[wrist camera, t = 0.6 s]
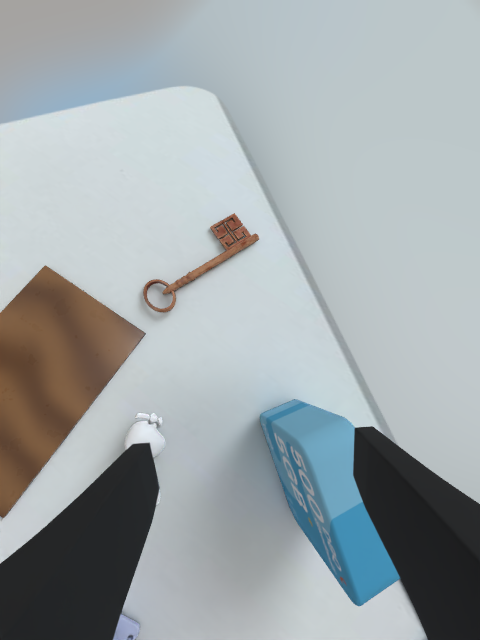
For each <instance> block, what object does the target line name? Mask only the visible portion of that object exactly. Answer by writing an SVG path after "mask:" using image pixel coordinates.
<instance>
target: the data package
mask: <svg viewBox="0 0 480 640" xmlns="http://www.w3.org/2000/svg"><path fill="white" fill-rule="evenodd" d="M260 422H261V426H262V429H263V431H264V434H265V437H266V440H267V443H268V446H269V449H270V452H271V455H272V458H273V460H274V463H275V466H276V469H277V472H278V475H279V478H280V481H281V484H282V487H283V489H284V492H285V495H286V498H287V501H288V504H289V507H290V509H291V511H292V514H293V516H294V518H295V520H296V521H297V523H298V525H299V526H300V527H301V529H302V530H303V532H304V533H305V535H306V536H307V537H308V539H309V540H310V542H311V543H312V545H313V546H314V548H315V549H316V550H317V552H318V553H319V555H320V556H321V558H322V559H323V561H324V562H325V563H326V565H327V566H328V568H329V569H330V571H331V572H332V574H333V575H334V576H335V578H336V579H337V581H338V582H339V584H340V585H341V587H342V588H343V589H344V591H345V592H346V594H347V595H348V597H349V598H350V599H351V601H352V602H353V603H354V604H355V605H357V606H361V605H363V604H364V603H366V602H367V601H368V600H370V599H371V598H373V597H374V596H376V595H377V594H379V593H380V592H381V591H383V590H384V589H386V588H387V587H389V586H390V585H392V584H393V583H394V582H396V581H397V580H399V579H400V577H399V575H398V573H397V571H396V569H395V567H394V565H393V563H392V561H391V559H390V557H389V555H388V553H387V551H386V549H385V547H384V545H383V543H382V541H381V539H380V537H379V535H378V533H377V531H376V529H375V527H374V525H373V523H372V521H371V519H370V517H369V514H368V512H367V510H366V508H365V506H364V503H363V501H362V498H361V496H360V493H359V490H358V487H357V485H356V482H355V479H354V477H353V462H354V431H355V427H354V426H353V425H352V424H351V422H349V421H348V420H347V419H346V418H344V417H342V416H339V415H336V414H334V413H331V412H328V411H326V410H323V409H321V408H318V407H315V406H313V405H310V404H307V403H305V402H302V401H299V400H296V399H294V400H292V401H289V402H287V403H285V404H282V405H280V406H278V407H275V408H273V409H271V410H268V411H266V412H264V413H262V414H260Z"/></svg>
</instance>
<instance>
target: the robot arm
mask: <svg viewBox="0 0 480 640" xmlns="http://www.w3.org/2000/svg"><path fill="white" fill-rule="evenodd" d="M353 477H354V479H355V482H356V485H357V487H358V490H359V493H360V496H361V498H362V501H363V503H364V506H365V508H366V510H367V512H368V514H369V517H370V519H371V521H372V523H373V525H374V527H375V529H376V531H377V533H378V535H379V537H380V539H381V541H382V543H383V545H384V547H385V549H386V551H387V553H388V555H389V557H390V559H391V561H392V563H393V565H394V567H395V569H396V571H397V573H398V575H399V577H400V579H401V581H402V583H403V585H404V587H405V589H406V591H407V593H408V595H409V597H410V599H411V601H412V603H413V605H414V608H415V610H416V612H417V614H418V616H419V619H420V621H421V624H422V626H423V628H424V631H425V633H426V635H427V638H428V640H480V504H479V503H477V502H476V501H474V500H473V499H471V498H470V497H468V496H467V495H465V494H464V493H462V492H461V491H459V490H458V489H456V488H455V487H453V486H452V485H451V484H449V483H448V482H446V481H445V480H443V479H442V478H440V477H439V476H438V475H436V474H435V473H433V472H432V471H431V470H429V469H428V468H426V467H425V466H424V465H423V464H421V463H420V462H419V461H417V460H416V459H415V458H413V457H412V456H410V455H409V454H408V453H406V452H405V451H404V450H403V449H401V448H400V447H399V446H397V445H396V444H395V443H394V442H392V441H391V440H390V439H388V438H387V437H386V436H384V435H383V434H382V433H381V432H379V431H378V430H376V429H375V428H374V427H359V428H355V431H354V462H353ZM159 489H160V488H159V483H158V479H157V474H156V469H155V465H154V460H153V456H152V451H151V446H150V443H137V444H132V445H131V446H130V447H129V448H128V449H127V450H126V451H125V452H124V453H123V454H122V455H121V456H120V457H119V458H118V459H117V460H116V461H115V462H114V463H113V464H112V465H111V466H110V467H109V468H107V469H106V470H105V471H104V472H103V473H102V474H101V475H100V476H99V477H98V478H97V479H96V480H95V481H94V482H93V483H92V484H91V485H90V486H89V487H88V488H87V489H86V490H85V491H84V492H83V493H82V494H81V495H80V496H79V497H78V498H76V499H75V500H74V501H73V502H72V503H71V504H70V505H69V506H68V507H67V508H65V509H64V510H63V511H62V512H61V513H60V514H59V515H58V516H57V517H56V518H54V519H53V520H52V521H51V522H50V523H49V524H48V525H47V526H46V527H44V528H43V529H42V530H41V531H40V532H39V533H37V534H36V535H35V536H34V537H33V538H32V539H30V540H29V541H28V542H27V543H26V544H24V545H23V546H22V547H21V548H19V549H18V550H17V551H16V552H14V553H13V554H12V555H11V556H9V557H8V558H7V559H6V560H5V561H3V562H2V563H1V564H0V640H135V639H136V638H137V636H138V634H139V631H140V625H139V624H138V623H137V622H135V621H133V620H132V619H130V618H128V617H126V616H124V615H122V614H121V612H122V608H123V605H124V602H125V600H126V597H127V594H128V591H129V588H130V585H131V582H132V579H133V576H134V573H135V570H136V568H137V565H138V562H139V559H140V556H141V553H142V550H143V547H144V544H145V541H146V538H147V535H148V532H149V529H150V526H151V523H152V520H153V515H154V511H155V507H156V503H157V498H158V493H159ZM129 635H132V637H128V636H129Z"/></svg>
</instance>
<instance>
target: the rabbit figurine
mask: <svg viewBox="0 0 480 640" xmlns="http://www.w3.org/2000/svg"><path fill="white" fill-rule="evenodd" d="M137 418H142V419H146V420H148V419H149V420H150V422H156V421H158V423H159V424H160V426H161V425H162V422H163V419H162V417H161V418H157V416H156V414H154V413H153V414H152V415H151V416H149V414H144V413H138V414H136V416H135V419H137ZM156 427H157V425H156V423H154V424H151V425H149V424H148V421H139V422H136V423H135V424H133V425H132V426H131V428H130V429H129V431H128V433H127V435H126V438H125V448H126V450H127V449H128V448H129V447H130V446H131V445H132V444H137V443H150V446H151V451H152V456H153V458H154V457H156V456H158V455H159V454H160V453H161V452H162V451H163V449H164V447H165V440H164V437H163V436H162V435H161V434H160V433H159V432H158V430H157V429H156ZM158 483H159V482H158ZM159 488H160V486H159ZM160 497H161V494H160V489H159V493H158V498H157V503H156V506H157V505H158V504H159V502H160Z"/></svg>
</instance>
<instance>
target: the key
mask: <svg viewBox="0 0 480 640" xmlns="http://www.w3.org/2000/svg"><path fill="white" fill-rule="evenodd" d="M231 218H232V219H233V220H234V222H233V220H230V219H231ZM228 220H230V221H228ZM226 221H228V222H227V223H226V224H227V225H228V227H229V228H230V229H231V231H234V230H235V229H237V228H239V227H241V226H242V225H243V224H242V223H241V221H240V220H239V219H238V217H237V216H236V215H235V213H234V214H232V215H231V216H229V217H227V218H225V219H223V220H222V221H220V222H218V223H216V224H214V225H213V226H211V227H210V229H211V230H212V231H213V233H214V234H215V235H216V237H217V238H218V239H220V238H222V237H223V236H225V235H227V234H228V232H229V233H230V235H231V236H232V237H233V239H234V240H235V241H236V243H234V240H233V239H232V238H231V236H230V235H227V236H226V237H224V238H222V239H220V242H221V244H222V245H223V246H224V248H225V249H226V250H227V251H225V252H224V253H222V254H220V255H219V256H217V257H215V258H214V259H212V260H210V261H209V262H207V263H205V264H204V265H202V266H200V267H199V268H197V269H195V270H194V271H192V272H189V273H188V274H187V275H186V276H183V277H182V278H181V279H180V280H177V281H176V282H175V283H173V284H171V285H169V284H168V283H166V282H164V281H162V280H157V279H156V280H151V281H149V282H148V283H147V284H146V285H145V287H144V291H143V295H144V299H145V301H146V303H147V304H148V305H149V306H150V307H151V308H152V309H153V310H155V311H158V312H168V311H170V310H171V309H172V308H173V307H174V305H175V302H176V296H175V293H174V290H176V289H178V288H179V287H182V285H184V284H187V283H189V281H193V280H195V278H197V277H198V276H200V275H202V274H203V273H205V272H207V271H208V270H210V269H211V268H213V267H215V266H216V265H218V264H220V263H221V262H223V261H225V260H226V259H228V258H229V257H231V256H233V255H234V254H236V253H238V252H239V251H241V250H243V249H244V248H246V247H248V246H249V245H251V244H252V243H254V242H256V241H257V240H259V237H258V235H257V234H254V235H252V236H251V235H250V233H249V232H248V231H247V229H246V228H245V227H244V226H243V227H241V228H239V229H238V230H236V231H234V232H233V233H234V235H235V236H236V238H237V239H238V240H239V239H240V238H242V237H244V235H245V236H246V237H245V238H243V239H241V240H240V241H237V239H236V238H235V236H234V235H233V234H232V232H231V231H230V230H229V228H228V227H227V226H226V224H225V223H224V222H226ZM221 224H223V225H224V227H225V228H226V229H227V231H228V232H227V231H226V230H225V228H224V227H223V226H222V225H221ZM219 225H221V226H219ZM217 226H219V227H218V228H216V227H217ZM214 228H216V230H217V231H218V232H217V231H216V230H215V229H214ZM242 233H243V234H244V235H243V234H242ZM225 243H227V244H228V246H229V245H230V244H232V243H234V244H233V245H231V246H229V247H228V246H227V245H226V244H225ZM155 283H160V284H163V285H165V286H166V289H165V290H164V291H163V292H162V293H163V294H167V293H171V292H172V295H173V301H172V303H171V305H170V306H169V307H167V308H164V309H159V308H156V307H154V306H153V305H151V304H150V302H149V301H148V299H147V290H148V288H149V287H150V286H151V285H152V284H155Z"/></svg>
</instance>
